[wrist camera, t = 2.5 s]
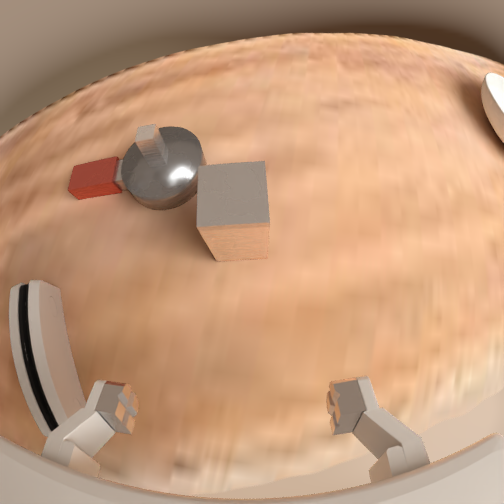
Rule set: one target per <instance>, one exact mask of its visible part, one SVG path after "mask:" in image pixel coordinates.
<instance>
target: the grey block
mask: <svg viewBox="0 0 504 504" xmlns="http://www.w3.org/2000/svg"><path fill="white" fill-rule="evenodd" d="M269 227H270V219H269V206H268V194H267V182H266V170H265V161H259V162H242V163H229V164H217V165H206V166H199V167H198V191H197V229H198V231H199V232H200V234H201V236H202V237H203V239H204V241H205V242H206V244H207V246H208V247H209V249H210V251H211V252H212V254H213V256H214V257H215V259H216V261H234V260H252V259H268V244H269Z"/></svg>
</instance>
